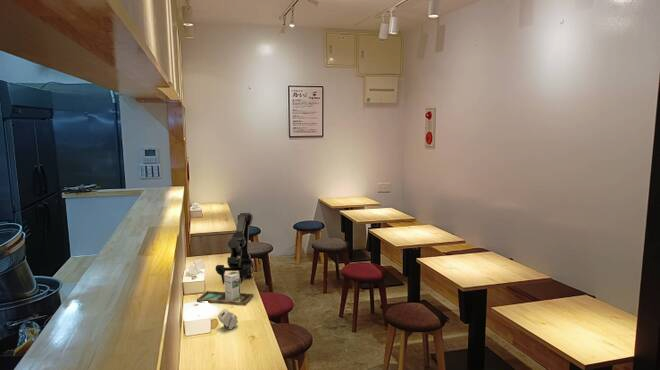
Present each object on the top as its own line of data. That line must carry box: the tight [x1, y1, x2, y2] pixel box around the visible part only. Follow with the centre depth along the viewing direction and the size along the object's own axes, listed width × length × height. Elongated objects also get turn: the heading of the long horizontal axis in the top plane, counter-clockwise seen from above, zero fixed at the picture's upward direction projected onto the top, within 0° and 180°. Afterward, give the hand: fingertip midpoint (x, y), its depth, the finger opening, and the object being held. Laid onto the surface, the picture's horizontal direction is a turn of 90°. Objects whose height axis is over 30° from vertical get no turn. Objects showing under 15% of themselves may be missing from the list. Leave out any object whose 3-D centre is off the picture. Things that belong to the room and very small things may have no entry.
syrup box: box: [224, 271, 242, 301], centre depth 231 cm, size 6×6×14 cm
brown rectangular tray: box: [196, 290, 255, 306], centre depth 233 cm, size 27×12×2 cm, turn 79°
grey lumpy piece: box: [217, 308, 239, 330], centre depth 200 cm, size 6×7×10 cm
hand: (232, 284), depth 230 cm, fingers open, 9 cm apart
